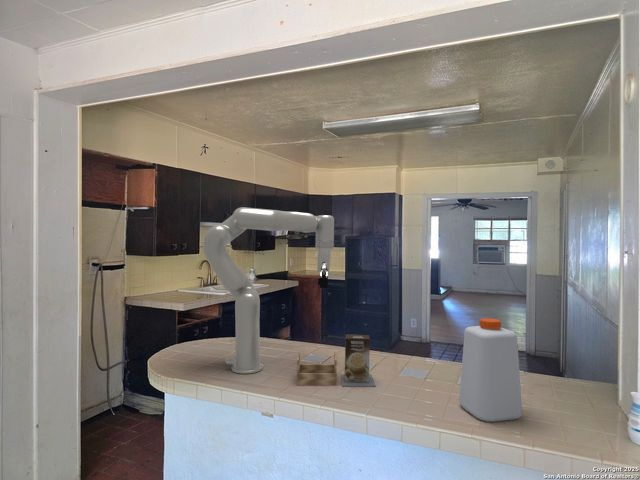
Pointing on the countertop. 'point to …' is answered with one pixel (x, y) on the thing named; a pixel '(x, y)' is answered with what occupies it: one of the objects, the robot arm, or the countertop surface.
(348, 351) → the coffee box
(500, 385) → the plastic bottle
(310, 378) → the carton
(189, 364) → the countertop surface
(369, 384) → the mat
